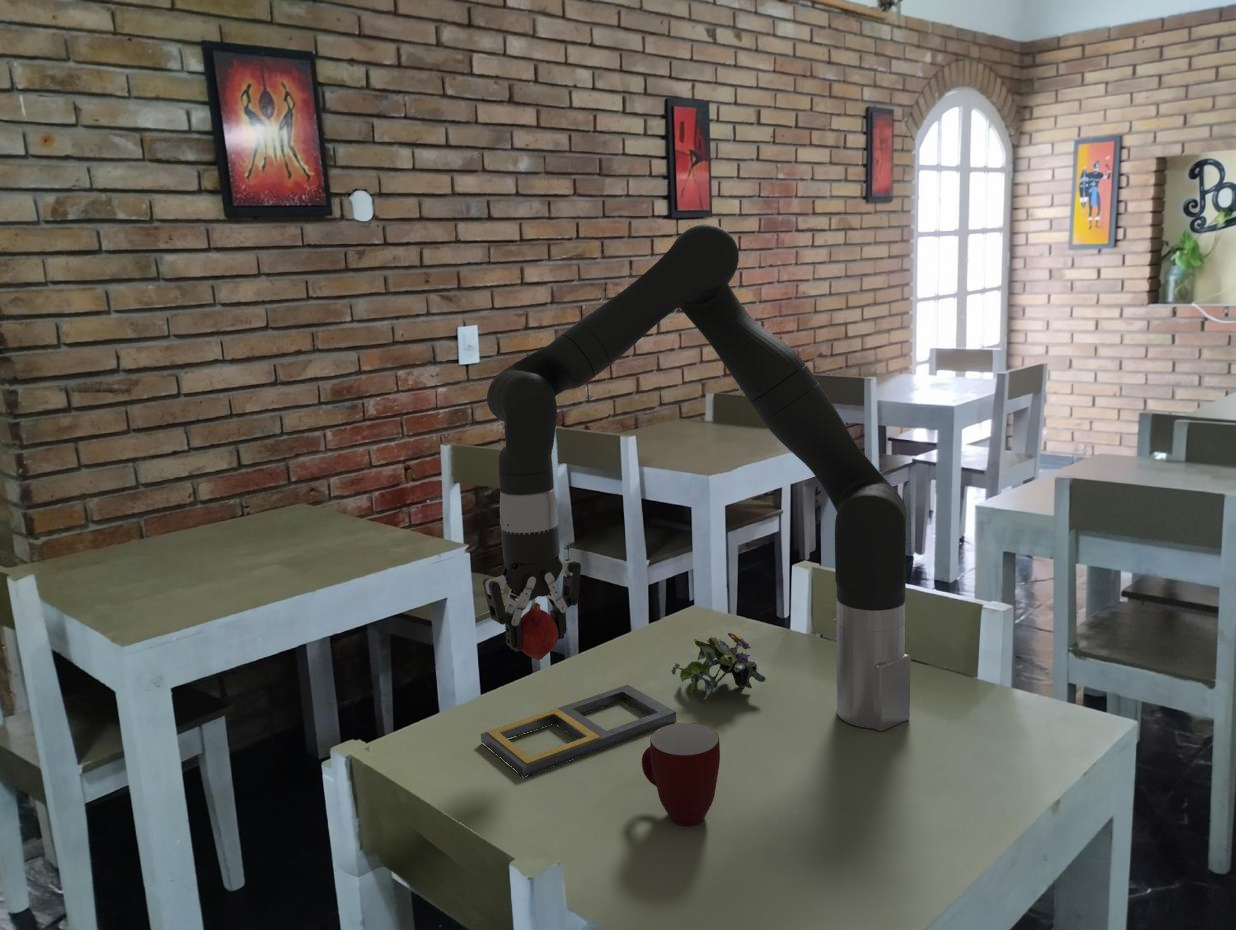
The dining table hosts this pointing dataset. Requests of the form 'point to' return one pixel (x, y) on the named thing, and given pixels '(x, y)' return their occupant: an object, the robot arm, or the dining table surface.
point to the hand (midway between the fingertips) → (537, 643)
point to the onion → (538, 632)
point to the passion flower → (726, 659)
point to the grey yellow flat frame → (577, 729)
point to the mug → (684, 769)
